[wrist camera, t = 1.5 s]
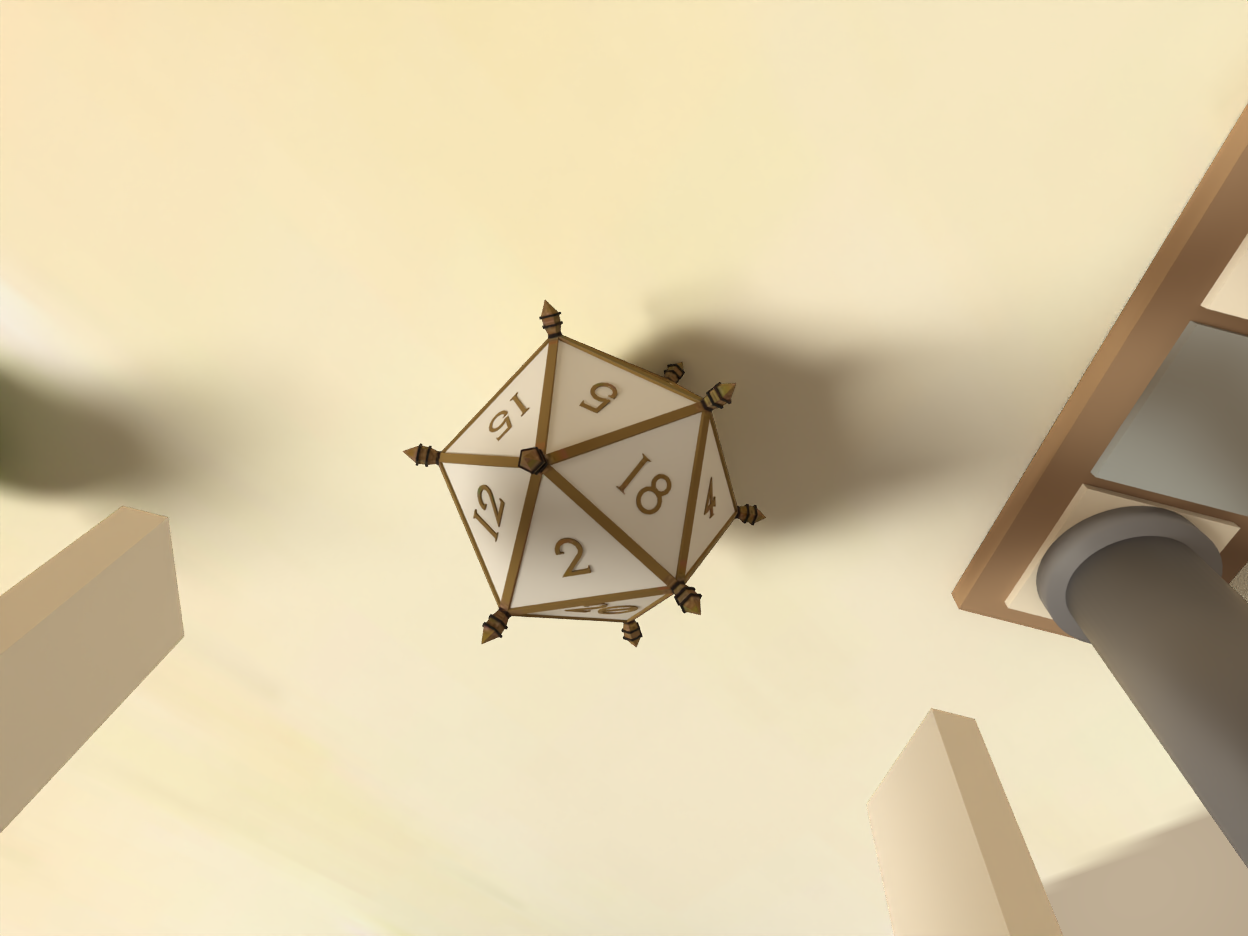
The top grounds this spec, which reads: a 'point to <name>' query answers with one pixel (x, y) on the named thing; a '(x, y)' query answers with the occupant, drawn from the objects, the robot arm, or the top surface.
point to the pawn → (1164, 641)
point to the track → (1146, 409)
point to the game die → (590, 486)
